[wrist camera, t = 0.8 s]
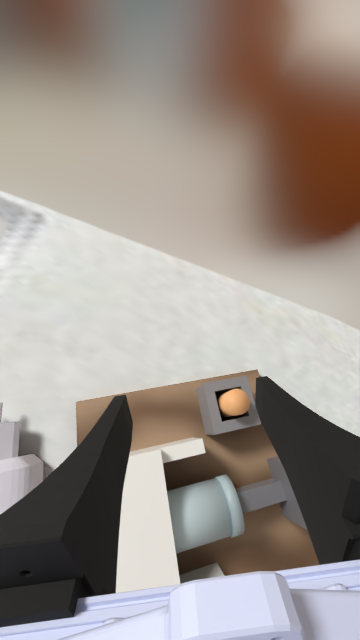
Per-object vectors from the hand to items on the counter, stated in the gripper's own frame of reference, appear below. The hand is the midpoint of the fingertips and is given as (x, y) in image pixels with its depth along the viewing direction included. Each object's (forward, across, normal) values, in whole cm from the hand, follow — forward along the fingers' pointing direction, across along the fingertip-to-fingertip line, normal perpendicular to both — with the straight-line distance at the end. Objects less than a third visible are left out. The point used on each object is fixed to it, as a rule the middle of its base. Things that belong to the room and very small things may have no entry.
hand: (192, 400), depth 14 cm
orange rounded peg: (+10, -4, +11) cm, 15 cm away
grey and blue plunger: (+4, 0, +17) cm, 18 cm away
